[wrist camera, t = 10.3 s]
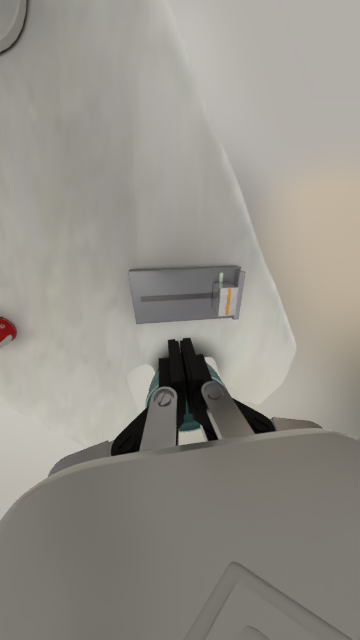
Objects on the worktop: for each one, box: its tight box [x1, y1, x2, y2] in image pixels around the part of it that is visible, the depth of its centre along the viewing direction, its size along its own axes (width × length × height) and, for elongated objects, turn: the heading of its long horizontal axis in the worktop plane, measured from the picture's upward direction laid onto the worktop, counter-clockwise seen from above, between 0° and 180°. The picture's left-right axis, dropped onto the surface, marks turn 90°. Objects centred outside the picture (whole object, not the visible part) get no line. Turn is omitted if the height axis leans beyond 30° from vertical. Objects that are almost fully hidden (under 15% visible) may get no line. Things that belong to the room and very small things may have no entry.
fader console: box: [128, 266, 245, 324], centre depth 31 cm, size 10×20×4 cm, turn 91°
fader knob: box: [212, 282, 239, 316], centre depth 29 cm, size 5×3×4 cm, turn 1°
